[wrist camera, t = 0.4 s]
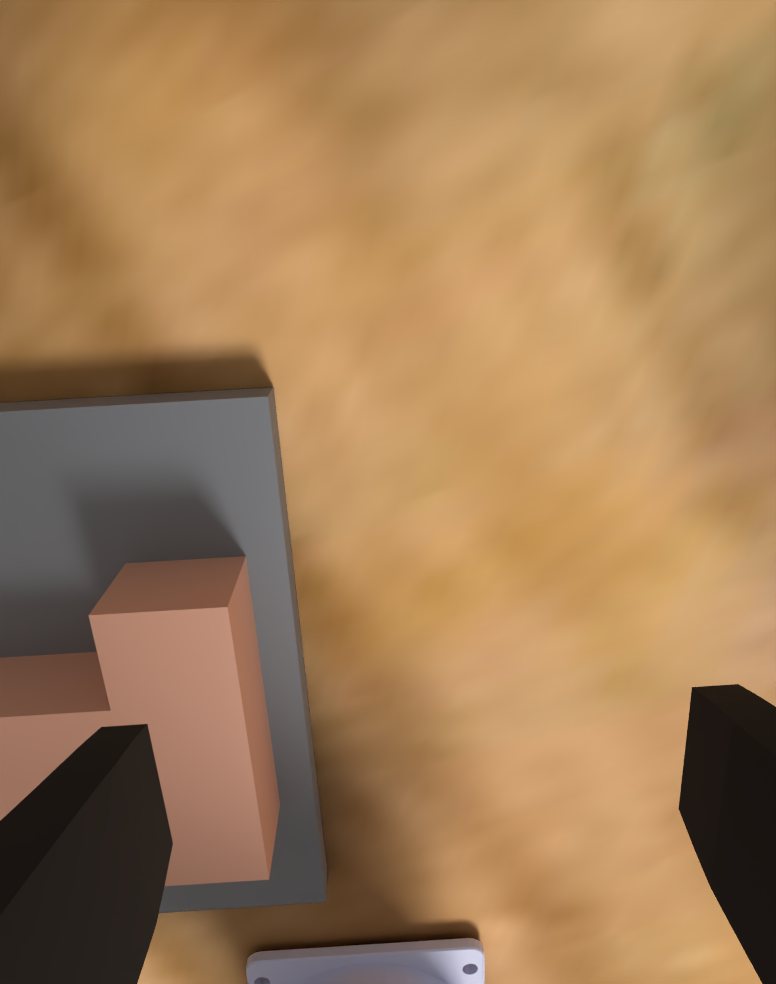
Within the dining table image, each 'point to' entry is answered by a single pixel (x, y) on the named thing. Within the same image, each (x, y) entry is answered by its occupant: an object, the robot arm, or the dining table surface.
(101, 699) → the t block
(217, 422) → the board
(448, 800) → the dining table surface
